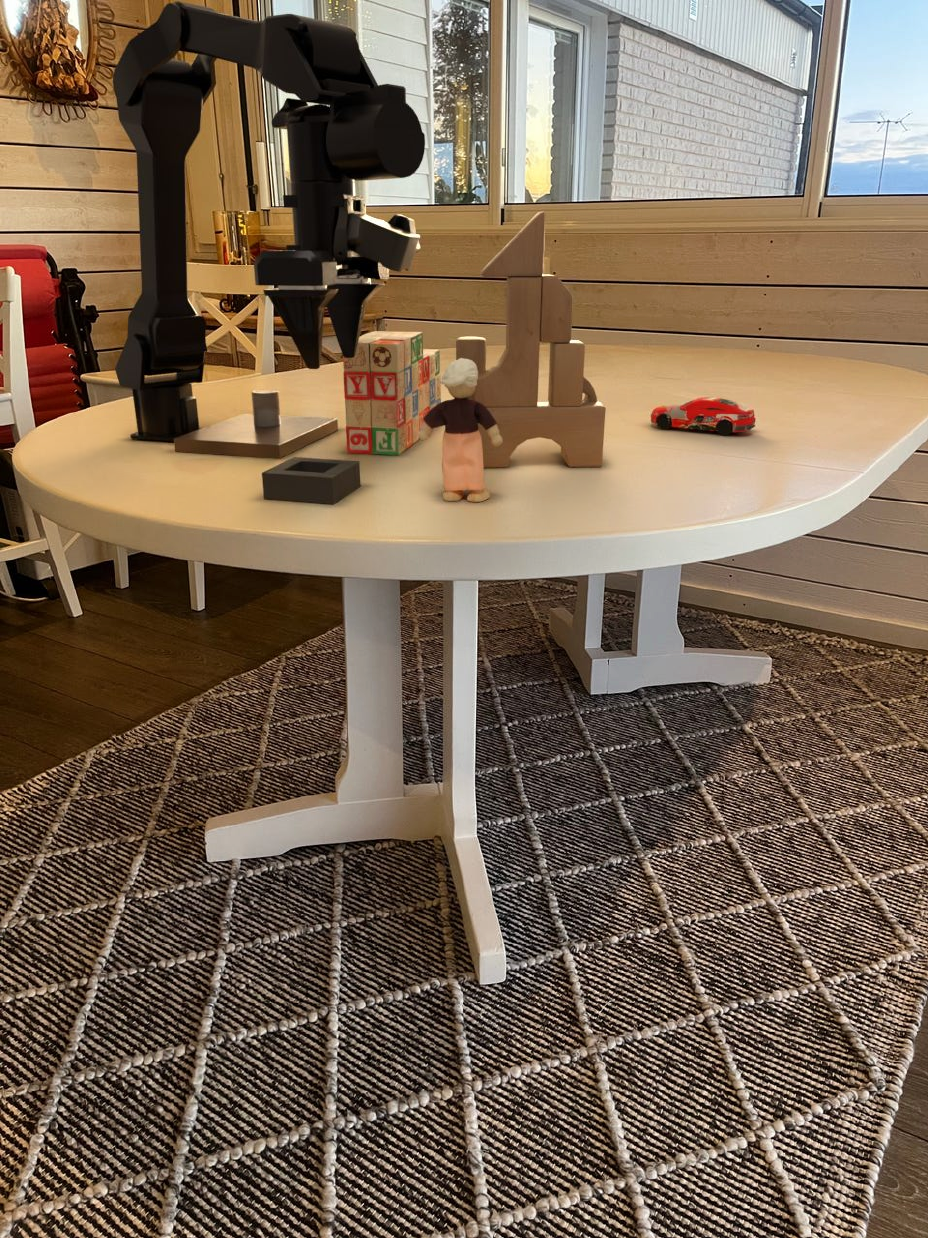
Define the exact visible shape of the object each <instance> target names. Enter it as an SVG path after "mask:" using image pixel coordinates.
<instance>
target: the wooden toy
mask: <svg viewBox="0 0 928 1238" xmlns="http://www.w3.org/2000/svg"><path fill="white" fill-rule="evenodd" d="M545 239H546V213H545V211H539V212H537V213H536V214H535V215H534V216H533V217H532V218H531V219H530V220H529V221H528V222H527V223H526V224H525V225H524V226H523V227H522V228H521V229H520V230H519V231H518V232H517V233H516V234H515V235H514V237H512V238H511V240H510V241H508V242H507V244H506V245H505V246H504V247H502V249H501V250H499V252H498V253H497V254H496V255H495V256H494V257H493V258H492V259H491V260H490V261H489V262H488V263H487V264H486V265H485V266H484V267H483V268H482V269H481V270H480V274H479V275H480V276H482V277H483V278H506V307H505V308H506V309H505V310H506V313H505V314H506V315H505V317H506V318H505V348H504V351H503V353H502V354H501V356H500V357H499V359H498V361H497V363H496V364H494V365H493V366H491V367H490V368H488V369H487V340H486V338H485V337H483V336H460V337H457V338H456V340H455V360H458V359H460V358H463V359H469V360H472V361H473V362H474V363H475V364H476V366H477V369H478V379H477V385H476V387H475V391H474V393H473V395H471V396H470V397H469V398H468V399H471V400H475V401H478V402H480V403H482V404H483V405H484V406H485V407H486V408H487V409H488V410H489V412H490V413H491V415H492V416H493V418H494V419H495V420H496V422H497V427H498V429H499V435H500V436H501V437H502V439H503V442H502V444H501V445H499V446H494V445H493V444H492V442H491V437H490V436H489V435H488V432H487V430H485V429H484V427H483V426H482V425H481V424H479V423H478V428H479V432H480V435H481V439H482V449H483V467H484V469H486V468H490V469H491V468H494V469H495V468H497V469H498V468H508V467H509V465H510V462H511V461H510V460H511V456H512V455H513V453H514V452H515V450H516V449H517V448H518V447H519V446H520V445H521V444H523V443H525V442H526V441H528V440H533V439H538V438H541V439H547V440H551V441H553V442H554V443H556V444H557V445H558V446H559V447H560V455H561V456H562V458H563V460H564V462H565V463H566V465H567V466H568V467H570V468H600V467H602V465H603V457H604V439H605V425H606V424H605V423H606V406H605V405H604V404H603V403H601V402H600V401H598V396H597V393H596V390H595V388H594V386H593V385H592V384H591V382H590V381H589V380H588V379H587V378H586V377H584V375H585V374H584V373H585V356H586V355H585V354H586V353H585V352H586V345H585V343H583V342H582V341H580V340H578V339H577V340H576V339H574V340H573V339H572V330H573V329H572V328H573V311H574V309H573V307H574V294H573V293H572V292H571V291H570V290H569V288H568V287H567V286H566V285H565V283H564V282H563V281H562V280H561V279H560V277H559V276H557V275H554V274H544V267H545V266H544V265H545V242H546V241H545ZM540 343H542V344H549V361H548V363H549V364H548V365H549V366H548V368H549V369H548V389H547V390H548V391H547V401H538V400H539V377H540V376H539V375H540V373H539V372H540V345H541V344H540ZM583 394H584V397H583Z"/></svg>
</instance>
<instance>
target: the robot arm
mask: <svg viewBox="0 0 928 1238" xmlns="http://www.w3.org/2000/svg"><path fill="white" fill-rule="evenodd" d="M357 37H358V36H357V33H356V32H355V30H354V29H352V28H351V27H350V26H348V25H346V24H345V25H344V24H340V23H336V22H332V21H326V20H321V19H318V18H312V17H308V16H304V15H299V14H294V13H285V14H284V13H283V14H273V15H268V16H266V17H264V18H263V20H253V19H249V18H244V17H239V16H236V15H231V14H226V13H221V12H218V11H216V10H214V9H213V8H212V7H209V6H203V5H199V4H194V3H188V2H184V1H179V0H175V1H173V2H169V3H166V5H165V6H164V7H163V8H162V11H161V12H160V14H159V16H158V19H157V20H156V21H155V22H154V23H152V24H151V25H149V26H148V27H147V28H145V29H144V30H143V31H141V32H140V33H138V34H136V35H135V36H134V37H131V39H130V40H129V41H128V42H127V43H126V46H125V48H124V50H123V51H122V54H121V56H120V58H119V60H118V62H117V64H116V66H115V68H114V71H113V74H112V87H113V92H114V96H115V98H116V106H117V114H118V120H119V123H120V124H121V127H122V128H123V130H124V132H125V133H126V135H127V137H128V139H129V141H130V143H131V144H132V146H133V147H134V149H135V153H136V174H137V198H138V226H139V227H138V228H139V246H140V247H139V249H140V250H139V251H140V254H139V255H140V276H141V278H140V279H141V294H140V295H139V297H138V299H137V301H136V302H135V304H134V305H133V307H132V309H131V311H130V313H129V315H128V317H127V333H126V334H127V335H126V340H125V342H124V345H123V347H122V350H121V352H120V355H119V357H118V361H117V362H116V364H115V369H114V371H115V374H116V378H117V381H118V384H119V386H120V387H122V388H128V389H131V391H132V400H133V407H134V414H135V421H136V422H135V423H136V429H137V431H136V432H133V433H131V434H130V435H129V436H130V439H133V440H146V441H147V440H148V441H149V440H150V441H163V442H174V438H177V437H180V436H182V435H185V434H188V433H191V432H194V431H196V430H199V429H202V428H203V427H200V422H199V412H198V403H197V397H196V396H194V394H193V386H192V385H193V384H200V383H203V379H204V372H205V371H204V370H205V361H206V352H208V346H207V339H206V331H207V321H206V319H205V317H204V316H203V315H201V314H198V313H197V311H196V310H195V308H194V306H193V304H192V302H191V300H190V299H189V294H188V245H187V244H188V243H187V242H188V241H187V240H188V239H187V183H186V182H187V181H186V180H187V179H186V176H187V175H186V173H187V172H186V161H187V160H186V159H187V156H188V154H189V152H190V150H191V148H192V147H193V145H194V144H195V141H196V140H197V138H198V136H199V134H200V132H201V129H202V128H201V126H202V115H203V114H202V113H203V107H204V105H205V103H206V102H207V100H208V99H209V96H211V94H212V92H213V91H214V90H215V88H216V86H217V75H216V60H217V59H219V60H222V61H225V62H230V63H233V64H236V65H237V64H238V65H242V66H245V67H248V68H252V69H254V70H255V71H257V72H259V74H260V76H261V77H262V80H264V81H265V82H267V83H268V84H270V85H272V86H273V87H275V88H277V89H278V90H280V91H281V92H283V93H286V94H292V95H295V96H296V97H297V98H291V97H287V98H285V100H284V103H283V105H282V107H281V108H280V109H279V110H278V111H277V112H276V113H275V114H274V116H273V118H272V120H271V127H272V128H273V129H280V130H286V135H287V151H288V167H289V182H290V184H289V185H290V194H282V202H283V208H285V209H291V213H292V225H293V226H292V228H293V242H294V243H293V244H286V247H285V248H286V250H282V249H281V250H277V249H276V250H275V249H274V250H262V251H261V252H260V253H259V254H258V256H257V257H256V259H255V260H254V261H253V271H254V282H255V286H268V287H270V286H271V287H272V286H275V288H266V289H265V288H264V289H262V290H263V295H264V296H265V297H268V299H269V301H270V302H271V303H272V305H273V308H274V309H275V311H276V312H277V314H278V315H279V317H280V319H281V321H282V323H283V324H284V326H285V328H286V330H287V332H288V334H289V336H290V337H291V339H292V341H293V343H294V345H295V347H296V349H297V351H298V353H299V355H300V357H301V359H302V361H303V362H304V364H305V366H306V368H307V369H309V370H319V369H320V368H321V361H322V351H323V334H324V321H325V320H324V319H325V309H327V312H328V316H329V319H330V322H331V325H332V328H333V331H334V334H335V337H336V340H337V343H338V345H339V349H340V351H341V355H342V357H343V356H344V357H345V358H354V357H355V354H356V349H357V345H358V340H359V337H360V335H361V331H362V326H363V322H364V317H365V313H366V309H367V307H368V306H367V305H368V303H369V301H370V300H371V298H373V297H374V296H375V294H377V293H378V292H379V290H381V289H383V288H384V286H385V283H383V282H372V280H376V281H378V280H379V281H381V280H382V281H383V280H389V279H390V271H394V272H397V273H401V272H402V270H405V271H406V272H410V271H411V267H412V264H413V261H414V258H415V254H418V253H419V252H420V251H421V244H420V238H421V235H420V234H418V233H417V229H416V223H415V220H414V219H413V218H410V217H407V216H405V215H403V214H394V215H393V216H392V217H391V218H390V219H389V220H388V221H387V222H386V221H385V220H383V219H379V218H375V217H373V216H370V215H368V214H367V205H366V201H365V200H364V199H363V196H360V195H356V185H355V182H361V181H362V182H364V181H379V180H390V179H392V180H393V179H405V178H408V177H411V176H412V175H414V174H415V173H416V172H417V171H418V169H419V168H420V167H421V164H422V162H423V159H424V156H425V150H426V134H425V133H424V132H423V128H422V124H421V121H420V120H419V116H418V115H417V114H416V111H414V108H412V107H411V106H410V105H409V104H408V103H407V90H406V88H405V87H406V86H404V85H397V84H392V83H384V84H383V83H382V84H379V83H378V82H377V80H376V78H375V76H374V75H373V73H372V71H371V69H370V67H369V65H368V62H367V61H366V59H365V57H364V55H363V53H362V52H361V51H362V50H360V46H359V45H360V44H359V43H358V39H357ZM179 52H183V53H189V54H194V55H195V54H196V57H195V58H194V60H193V62H192V64H190V63H189V62H187V61H184V60H179V59H174V58H175V57H176V56H177V54H178V53H179ZM309 103H310V104H312V105H309ZM276 286H277V287H276Z"/></svg>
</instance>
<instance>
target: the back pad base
mask: <svg viewBox="0 0 928 1238" xmlns="http://www.w3.org/2000/svg"><path fill="white" fill-rule="evenodd" d="M279 393H280V392H279V390H277V389H268V388H267V389H266V388H265V389H255V390H252V391H251V404H252V413H242V414H239V415H236V416H234V417H230V418H227V419H225V420H222V421H219V422H216V423H214V424H211V425H207V426H205V427H201V428H202V429H199V430H196V431H194V432H191V433H188V434H185V435H182V436H180V437H177V438H174V441H173V445H174V451H175V452H177V453H178V452H179V453H193V454H206V455H209V454H210V455H221V456H238V457H252V458H253V457H254V458H266V459H267V458H268V459H281V458H283V457H285V456H287V455H289V454H292V453H294V452H295V451H298V450H299V449H300V450H301V449H302V448H304V447H306V446H308V445H310V444H312V443H314V442H316V441H318V440H320V439H323V438H325V437H326V436H329V435H331V434H333V433H335V432H337V431H339V423H338V418H336V417H319V416H318V417H317V416H303V415H302V416H301V415H300V416H298V415H283V414H281V409H280V408H281V406H280V395H279Z"/></svg>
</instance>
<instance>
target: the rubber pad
mask: <svg viewBox="0 0 928 1238" xmlns="http://www.w3.org/2000/svg"><path fill="white" fill-rule="evenodd" d="M261 479H262V480H261V481H262V493H263V499H264V500H275V501H288V502H298V503H311V504H312V503H313V504H322V505H323V504H324V505H325V504H326V505H335V504H336V503H337V502H339V501H341V500H342V499H344V498H345V497H347V496H348V495H350V494H351V493H353V492H355V491H356V490H357V489H358V488H360V487H361V486H362V485H361V484H362V483H361V462H360V461H359V460H349V459H348V460H347V459H346V460H345V459H332V458H317V457H316V458H315V457H303V456H302V457H301V456H293V457H291V458H289V459H287V460H285V461H282V462H281V463H279V464H277V465H275V466H273V467H271V468H268V469H267V470H264V471H263V472H261Z"/></svg>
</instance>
